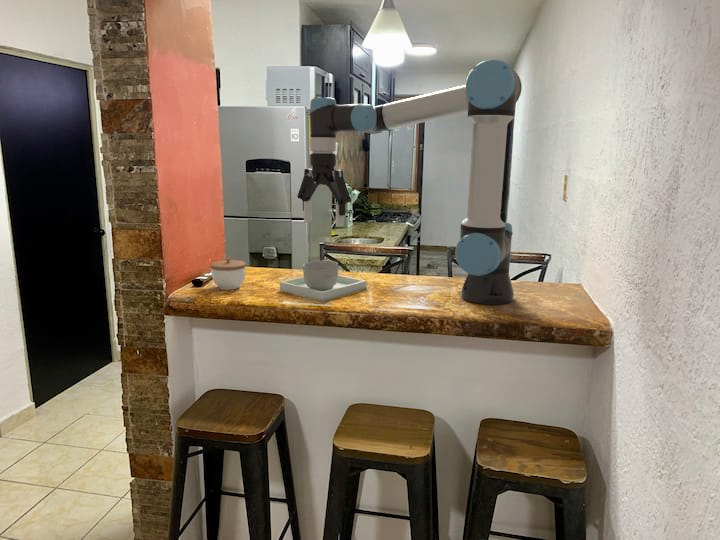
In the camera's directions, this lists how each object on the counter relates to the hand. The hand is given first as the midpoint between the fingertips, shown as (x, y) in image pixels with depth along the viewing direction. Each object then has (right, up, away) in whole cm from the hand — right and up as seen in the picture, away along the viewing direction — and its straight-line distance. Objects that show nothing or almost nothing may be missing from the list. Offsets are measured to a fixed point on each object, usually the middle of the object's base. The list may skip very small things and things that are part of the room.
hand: (323, 224), depth 163 cm
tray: (0, -20, +4) cm, 21 cm away
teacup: (-1, -19, +5) cm, 20 cm away
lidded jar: (-30, -20, +7) cm, 37 cm away
